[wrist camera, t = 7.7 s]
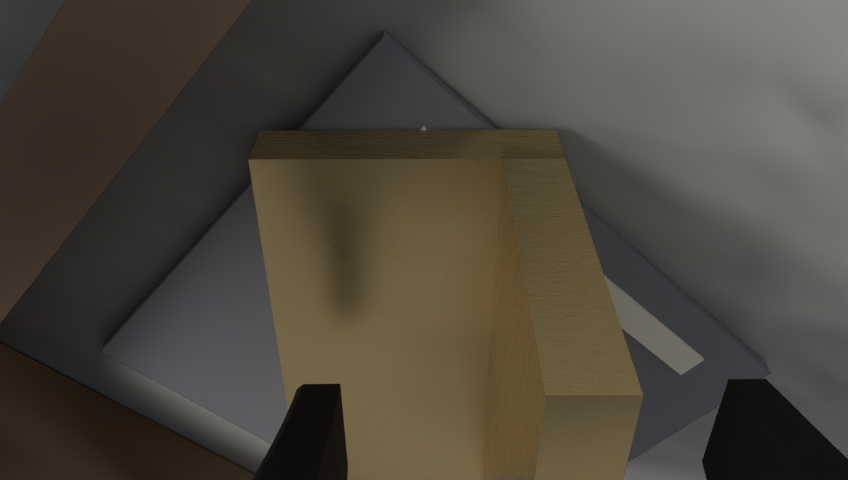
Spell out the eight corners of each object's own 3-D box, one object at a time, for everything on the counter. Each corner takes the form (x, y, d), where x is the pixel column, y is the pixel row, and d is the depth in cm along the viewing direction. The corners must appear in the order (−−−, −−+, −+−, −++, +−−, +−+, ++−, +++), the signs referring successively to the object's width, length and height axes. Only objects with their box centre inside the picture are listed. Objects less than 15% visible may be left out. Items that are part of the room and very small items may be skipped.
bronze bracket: (521, 443, 17) (562, 735, 12) (305, 444, 17) (257, 736, 12) (556, 129, 13) (642, 395, 8) (258, 130, 12) (155, 397, 8)
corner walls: (-118, 338, 16) (-239, 476, 13) (281, -256, 10) (226, -251, 7) (388, 585, 21) (384, 721, 18) (836, 298, 15) (934, 431, 12)
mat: (105, 341, 16) (98, 354, 15) (384, 30, 12) (383, 39, 12) (475, 545, 20) (476, 558, 20) (765, 363, 16) (772, 376, 16)
